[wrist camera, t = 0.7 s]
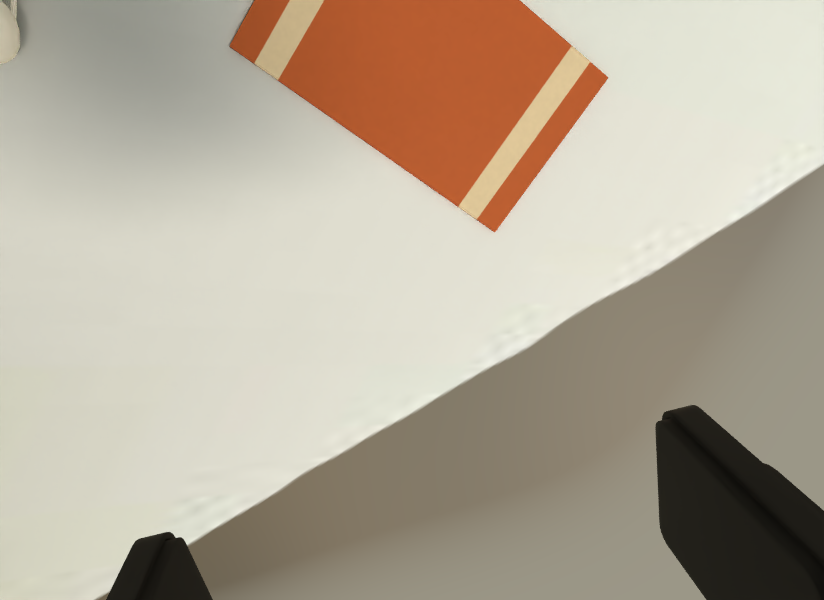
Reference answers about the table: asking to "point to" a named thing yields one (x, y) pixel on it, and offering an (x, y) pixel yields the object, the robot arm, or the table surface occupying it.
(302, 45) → the cloth
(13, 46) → the cream animal figurine
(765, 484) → the robot arm
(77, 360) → the table surface
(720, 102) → the table surface
